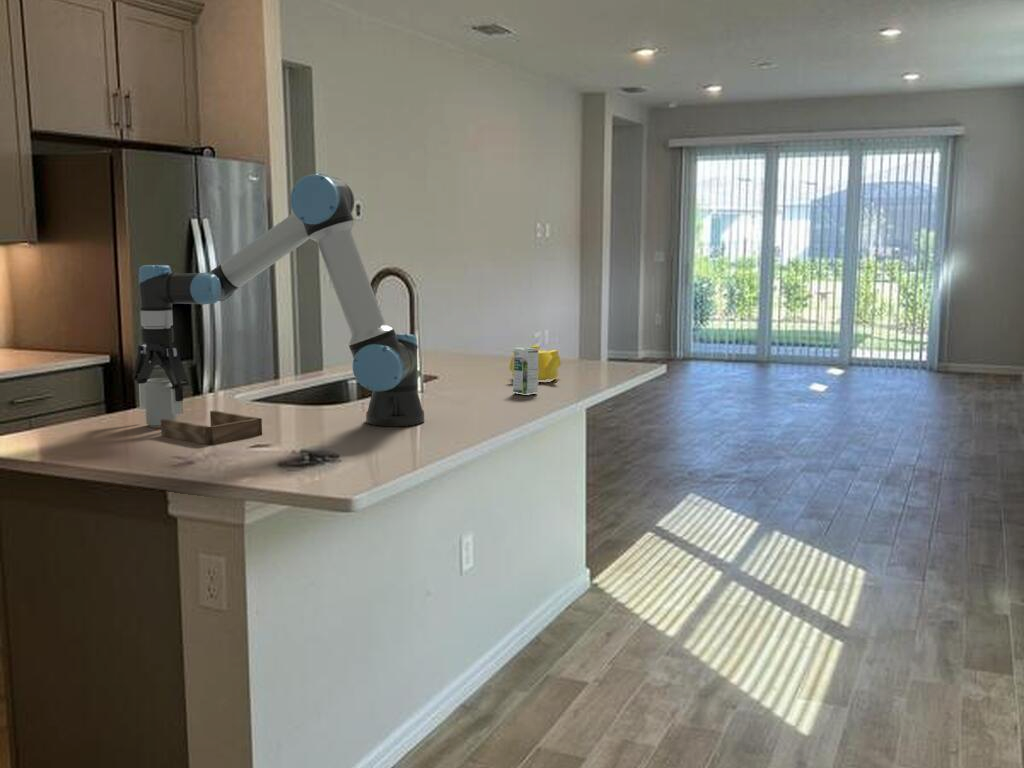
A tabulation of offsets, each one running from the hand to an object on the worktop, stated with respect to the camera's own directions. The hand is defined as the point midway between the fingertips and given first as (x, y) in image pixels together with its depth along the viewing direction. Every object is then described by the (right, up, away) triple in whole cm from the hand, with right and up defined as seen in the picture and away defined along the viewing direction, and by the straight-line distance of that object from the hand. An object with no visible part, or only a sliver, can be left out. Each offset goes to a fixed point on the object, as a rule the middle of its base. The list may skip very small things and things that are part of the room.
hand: (161, 411), depth 244 cm
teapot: (+97, +8, +85) cm, 129 cm away
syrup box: (+93, +3, +55) cm, 108 cm away
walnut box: (+16, -5, -11) cm, 20 cm away
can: (0, -4, +1) cm, 4 cm away
